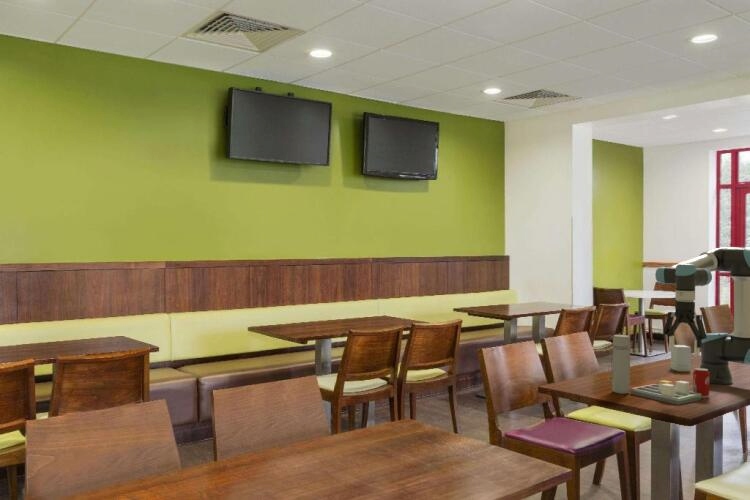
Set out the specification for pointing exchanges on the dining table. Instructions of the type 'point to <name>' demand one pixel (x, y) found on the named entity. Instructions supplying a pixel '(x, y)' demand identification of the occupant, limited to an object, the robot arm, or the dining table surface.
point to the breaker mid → (664, 383)
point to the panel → (654, 393)
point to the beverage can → (701, 382)
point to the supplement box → (681, 358)
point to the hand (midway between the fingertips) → (684, 353)
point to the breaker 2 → (683, 387)
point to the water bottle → (620, 364)
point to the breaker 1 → (668, 389)
